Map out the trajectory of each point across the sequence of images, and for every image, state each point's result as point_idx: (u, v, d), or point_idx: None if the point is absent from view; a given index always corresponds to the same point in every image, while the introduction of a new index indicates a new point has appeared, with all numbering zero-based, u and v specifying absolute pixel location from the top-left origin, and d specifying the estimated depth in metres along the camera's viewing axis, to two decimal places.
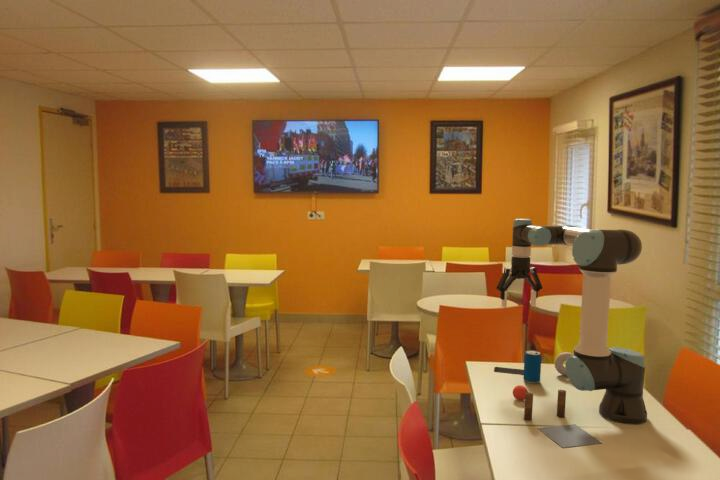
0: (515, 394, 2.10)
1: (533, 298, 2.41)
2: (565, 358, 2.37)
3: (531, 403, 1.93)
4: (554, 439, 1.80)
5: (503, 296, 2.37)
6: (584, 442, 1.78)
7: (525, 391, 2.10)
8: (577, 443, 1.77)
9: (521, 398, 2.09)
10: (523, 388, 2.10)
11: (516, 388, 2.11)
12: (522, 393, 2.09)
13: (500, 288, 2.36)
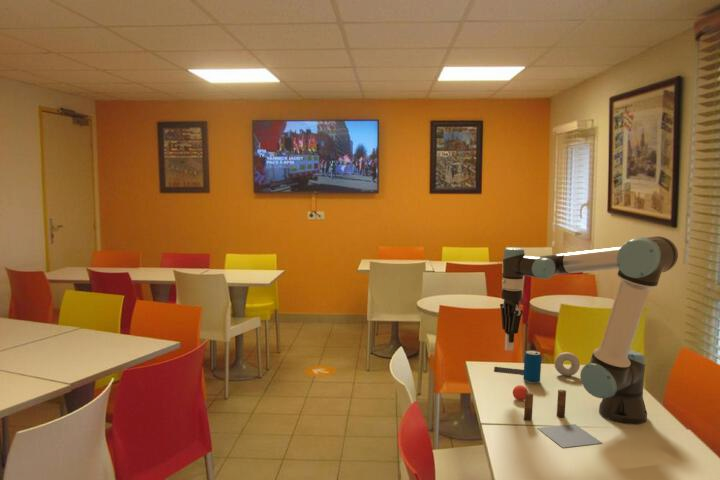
0: (515, 394, 2.10)
1: None
2: (565, 358, 2.37)
3: (531, 403, 1.93)
4: (554, 439, 1.80)
5: None
6: (584, 442, 1.78)
7: (525, 391, 2.10)
8: (577, 443, 1.77)
9: (521, 398, 2.09)
10: (523, 388, 2.10)
11: (516, 388, 2.11)
12: (522, 393, 2.09)
13: None
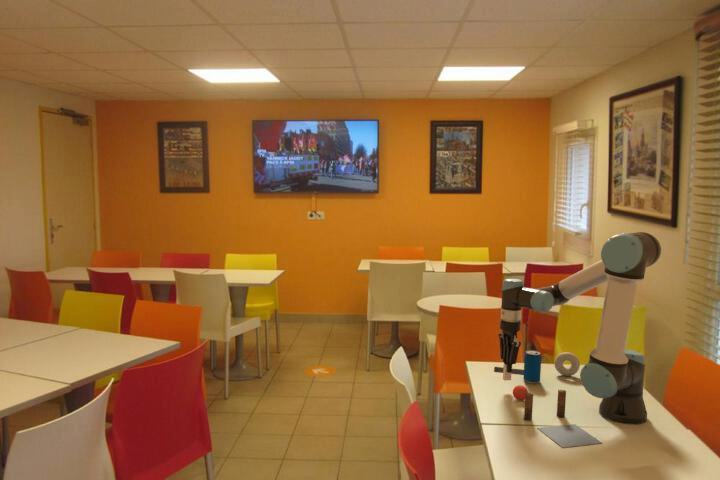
0: (515, 394, 2.10)
1: None
2: (565, 358, 2.37)
3: (531, 403, 1.93)
4: (554, 439, 1.80)
5: None
6: (584, 442, 1.78)
7: (525, 391, 2.10)
8: (577, 443, 1.77)
9: (521, 398, 2.09)
10: (523, 388, 2.10)
11: (516, 388, 2.11)
12: (522, 393, 2.09)
13: None
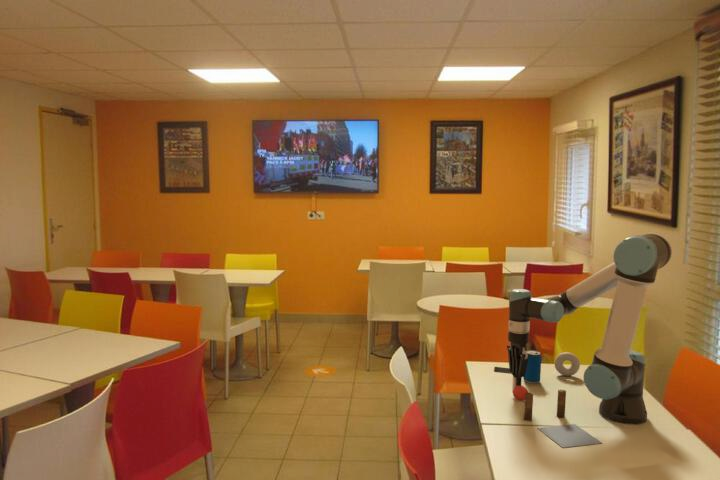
0: (515, 394, 2.10)
1: None
2: (565, 358, 2.37)
3: (531, 403, 1.93)
4: (554, 439, 1.80)
5: None
6: (584, 442, 1.78)
7: (525, 391, 2.09)
8: (577, 443, 1.77)
9: (521, 398, 2.09)
10: (523, 388, 2.10)
11: (516, 388, 2.11)
12: (522, 393, 2.09)
13: None
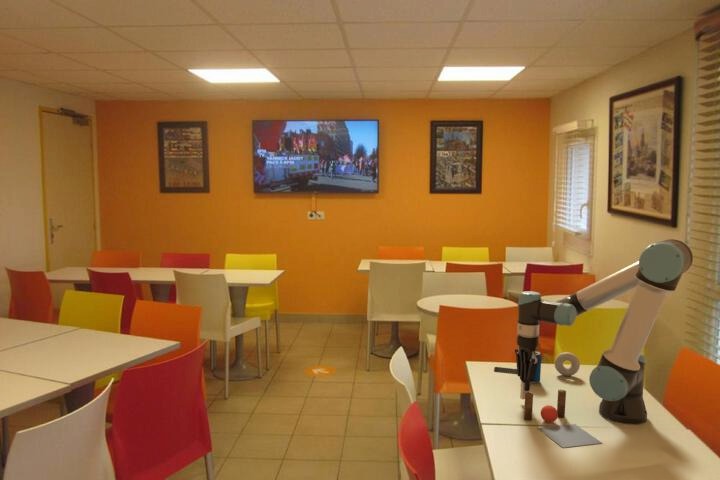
0: (543, 416, 1.92)
1: None
2: (565, 358, 2.37)
3: (531, 403, 1.93)
4: (554, 439, 1.80)
5: None
6: (584, 442, 1.78)
7: (555, 414, 1.91)
8: (577, 443, 1.77)
9: (550, 421, 1.91)
10: (553, 410, 1.91)
11: (545, 410, 1.92)
12: (551, 416, 1.90)
13: None
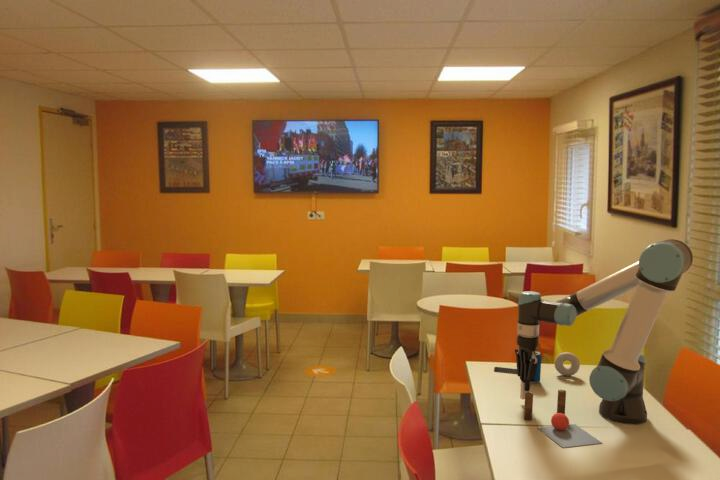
0: (551, 422, 1.87)
1: None
2: (565, 358, 2.37)
3: (531, 403, 1.93)
4: (554, 439, 1.80)
5: None
6: (584, 442, 1.78)
7: None
8: (577, 443, 1.77)
9: None
10: None
11: (556, 428, 1.86)
12: None
13: None
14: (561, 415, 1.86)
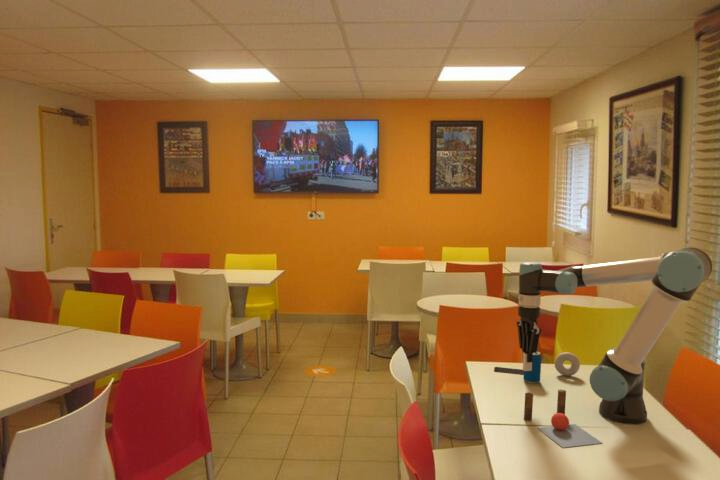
0: (551, 422, 1.87)
1: None
2: (565, 358, 2.37)
3: (531, 403, 1.93)
4: (554, 439, 1.80)
5: None
6: (584, 442, 1.78)
7: None
8: (577, 443, 1.77)
9: None
10: None
11: (556, 428, 1.86)
12: None
13: None
14: (561, 415, 1.86)
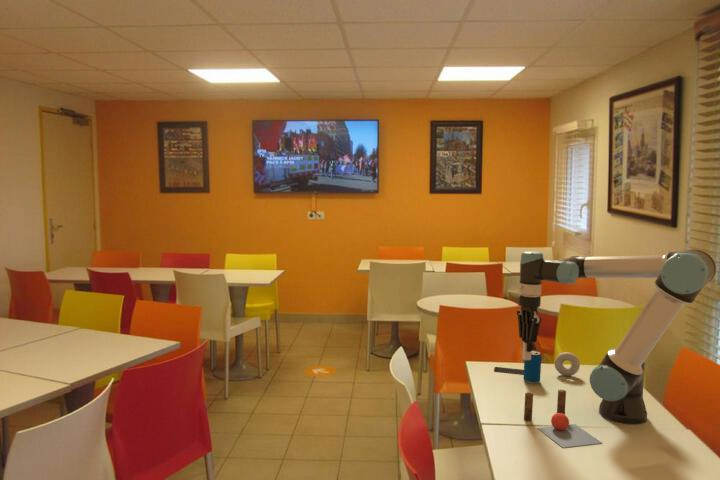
0: (551, 422, 1.87)
1: None
2: (565, 358, 2.37)
3: (531, 403, 1.93)
4: (554, 439, 1.80)
5: None
6: (584, 442, 1.78)
7: None
8: (577, 443, 1.77)
9: None
10: None
11: (556, 428, 1.86)
12: None
13: None
14: (561, 415, 1.86)
